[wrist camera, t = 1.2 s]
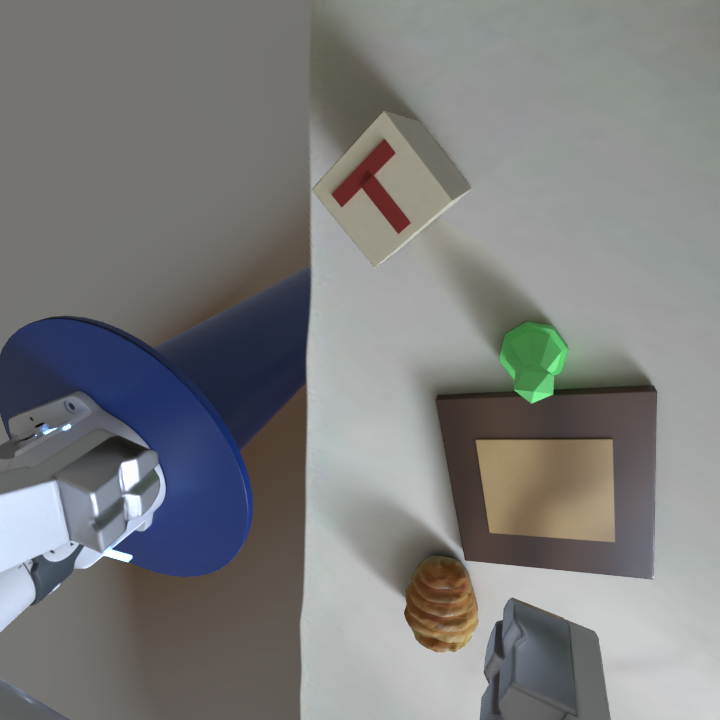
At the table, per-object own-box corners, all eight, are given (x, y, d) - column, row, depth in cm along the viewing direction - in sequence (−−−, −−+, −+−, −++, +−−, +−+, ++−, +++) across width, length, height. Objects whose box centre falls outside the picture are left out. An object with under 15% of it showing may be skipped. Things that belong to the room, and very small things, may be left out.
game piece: (486, 358, 31) (478, 399, 26) (523, 308, 29) (523, 342, 23) (540, 390, 30) (543, 438, 25) (582, 342, 28) (594, 384, 23)
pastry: (408, 541, 41) (398, 575, 37) (483, 557, 38) (480, 595, 35) (409, 609, 44) (400, 646, 41) (477, 627, 42) (474, 667, 39)
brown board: (465, 553, 39) (464, 561, 38) (437, 394, 33) (435, 400, 33) (651, 571, 33) (654, 581, 33) (654, 384, 28) (657, 391, 27)
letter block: (410, 241, 29) (374, 268, 22) (362, 180, 29) (310, 189, 22) (471, 188, 27) (452, 201, 20) (421, 121, 26) (382, 109, 19)
